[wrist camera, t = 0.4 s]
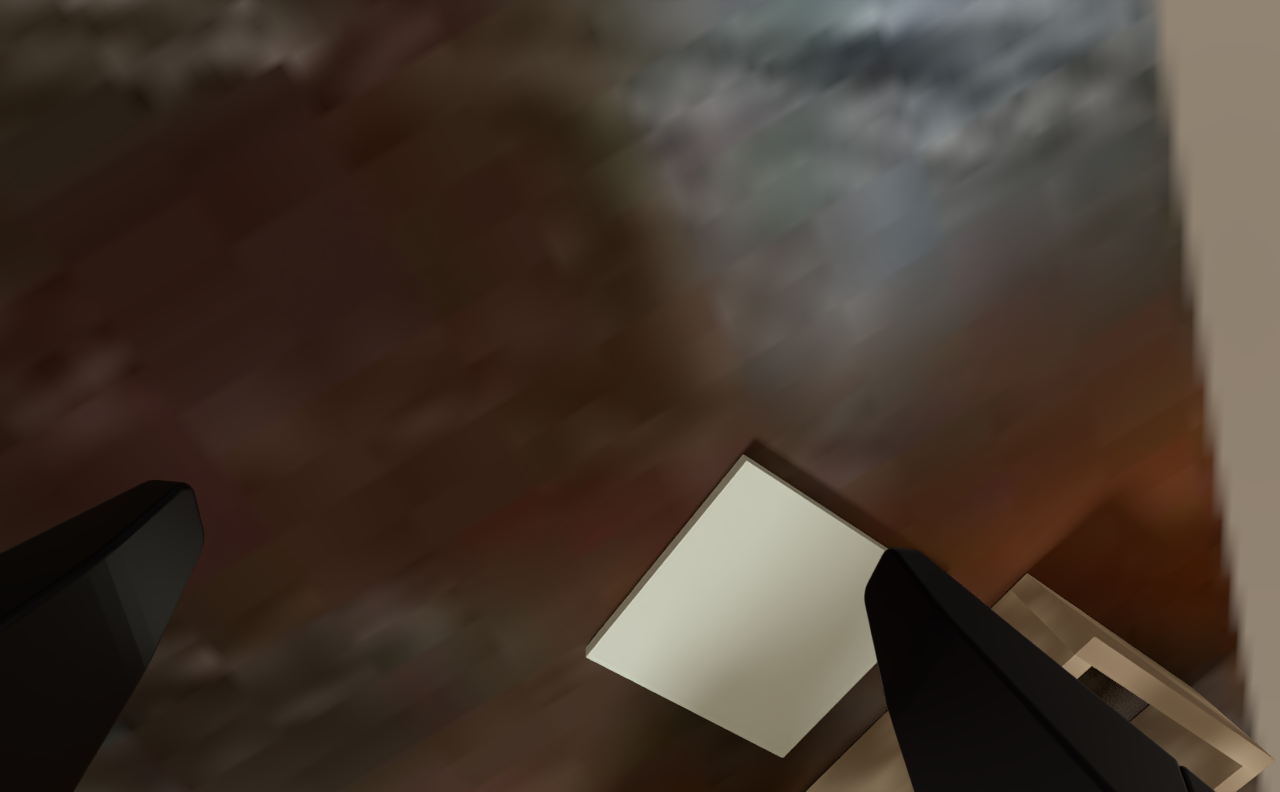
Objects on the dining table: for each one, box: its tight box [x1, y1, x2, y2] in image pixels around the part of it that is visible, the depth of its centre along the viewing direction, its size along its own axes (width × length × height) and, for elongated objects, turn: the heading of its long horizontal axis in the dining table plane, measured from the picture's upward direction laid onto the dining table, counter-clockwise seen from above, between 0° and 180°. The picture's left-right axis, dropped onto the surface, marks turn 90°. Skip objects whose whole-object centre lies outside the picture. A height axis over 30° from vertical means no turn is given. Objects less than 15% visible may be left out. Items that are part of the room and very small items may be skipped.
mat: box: [586, 454, 888, 758], centre depth 27 cm, size 11×11×1 cm
